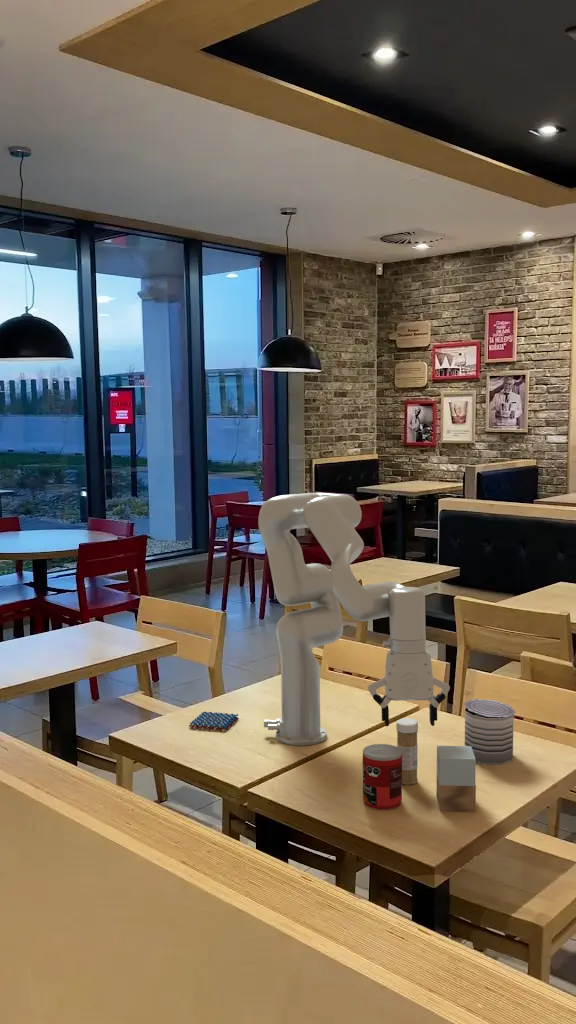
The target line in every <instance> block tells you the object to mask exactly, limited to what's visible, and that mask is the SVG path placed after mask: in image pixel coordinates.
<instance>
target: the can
mask: <svg viewBox="0 0 576 1024" xmlns="http://www.w3.org/2000/svg"><path fill="white" fill-rule="evenodd" d="M463 706H464V707H465V710H464V746H471V747H472V750H473V753H474V756H475V759H476V762H477V763H476V764H481V765H484V764H485V766H502V765H505V764H508V763H510V762H513V757H514V719H515V718H514V715H515V714H516V713H517V712H516V711H515V709H514V708H513V707H511V705H509V704H506V703H503V702H500V701H496V700H493V699H478V698H477V699H475V698H472V699H470V700H467V701H466V702H465V701H464V702H463Z"/></svg>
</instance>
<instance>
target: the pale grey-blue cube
mask: <svg viewBox="0 0 576 1024" xmlns="http://www.w3.org/2000/svg"><path fill="white" fill-rule="evenodd" d="M476 764H477V763H476V759H475V756H474V753H473V750H472V747H471V746H465V745H436V776H437V775H438V780H439V784H440V785H447V786H475V785H476V766H477V765H476Z"/></svg>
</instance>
